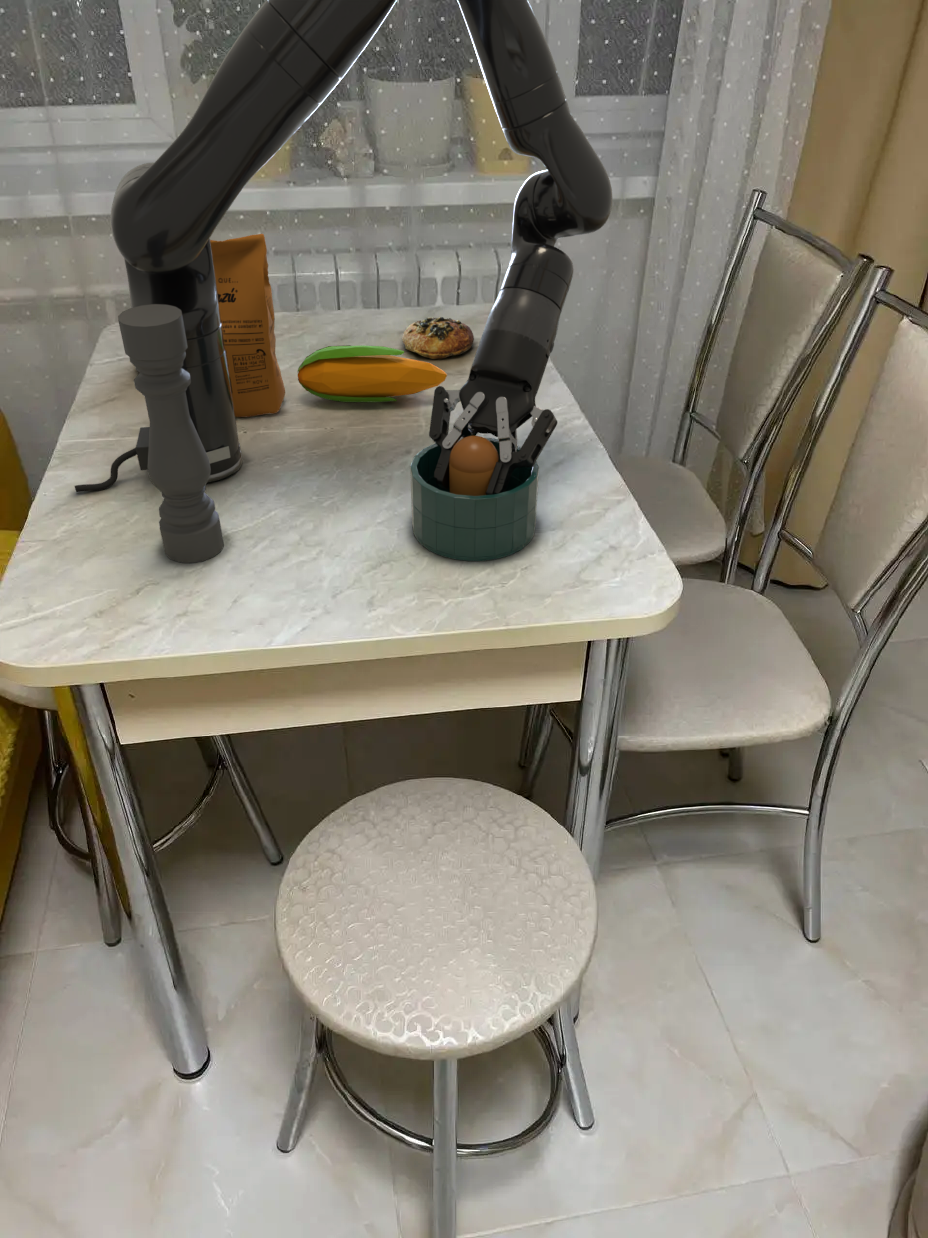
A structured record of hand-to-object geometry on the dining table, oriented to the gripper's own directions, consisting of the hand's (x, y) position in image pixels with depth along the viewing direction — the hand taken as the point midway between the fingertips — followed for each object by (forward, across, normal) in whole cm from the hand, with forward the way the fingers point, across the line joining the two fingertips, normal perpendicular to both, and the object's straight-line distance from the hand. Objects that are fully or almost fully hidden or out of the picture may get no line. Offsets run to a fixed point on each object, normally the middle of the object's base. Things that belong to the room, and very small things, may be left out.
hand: (466, 492), depth 103 cm
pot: (+3, 0, +5) cm, 6 cm away
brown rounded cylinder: (+2, 0, +4) cm, 5 cm away
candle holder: (+15, -25, -7) cm, 30 cm away
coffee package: (-7, -42, +15) cm, 45 cm away
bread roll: (-28, -27, +36) cm, 53 cm away
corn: (-14, -26, +22) cm, 37 cm away
